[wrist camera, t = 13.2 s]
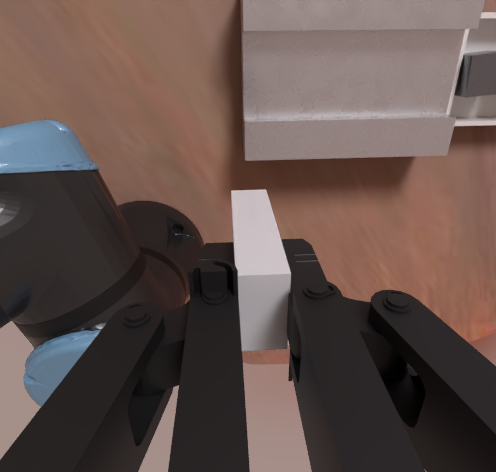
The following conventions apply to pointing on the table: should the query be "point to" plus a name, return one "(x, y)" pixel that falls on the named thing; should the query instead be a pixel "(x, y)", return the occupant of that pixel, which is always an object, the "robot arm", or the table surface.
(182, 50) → the table surface
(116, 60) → the table surface
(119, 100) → the table surface
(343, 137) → the slot block
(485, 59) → the dark gray cube
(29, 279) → the robot arm
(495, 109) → the tray
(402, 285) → the table surface
